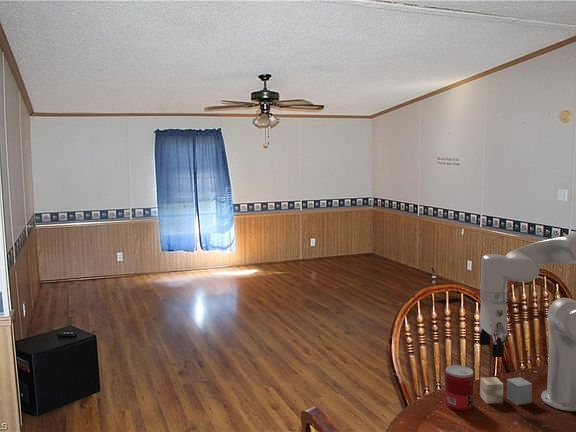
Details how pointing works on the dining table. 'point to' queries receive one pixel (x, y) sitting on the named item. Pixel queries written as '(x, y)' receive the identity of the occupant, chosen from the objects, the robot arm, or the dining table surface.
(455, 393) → the canned food
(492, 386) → the birch block
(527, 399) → the slate block
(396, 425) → the dining table surface
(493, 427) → the dining table surface
